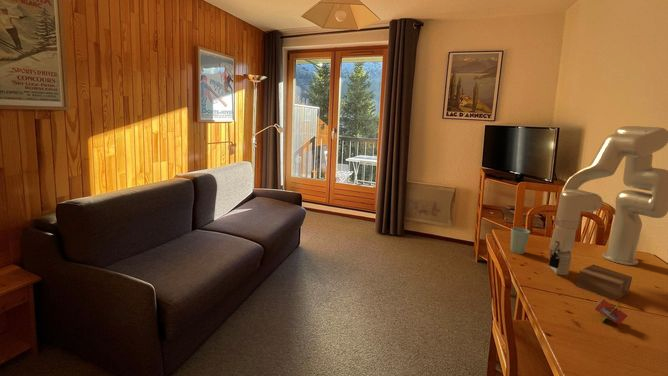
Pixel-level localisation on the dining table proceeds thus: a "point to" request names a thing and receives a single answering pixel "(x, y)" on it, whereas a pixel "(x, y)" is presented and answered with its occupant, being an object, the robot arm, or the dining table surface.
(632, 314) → the dining table surface
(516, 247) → the cup
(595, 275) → the walnut block
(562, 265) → the medicine box
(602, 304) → the geometric puzzle
